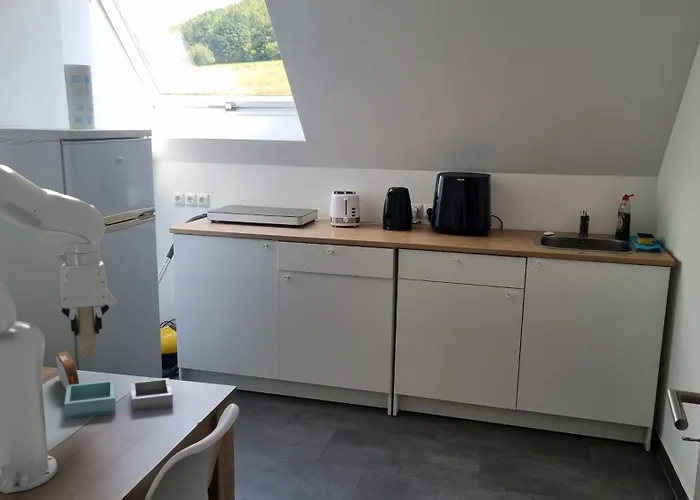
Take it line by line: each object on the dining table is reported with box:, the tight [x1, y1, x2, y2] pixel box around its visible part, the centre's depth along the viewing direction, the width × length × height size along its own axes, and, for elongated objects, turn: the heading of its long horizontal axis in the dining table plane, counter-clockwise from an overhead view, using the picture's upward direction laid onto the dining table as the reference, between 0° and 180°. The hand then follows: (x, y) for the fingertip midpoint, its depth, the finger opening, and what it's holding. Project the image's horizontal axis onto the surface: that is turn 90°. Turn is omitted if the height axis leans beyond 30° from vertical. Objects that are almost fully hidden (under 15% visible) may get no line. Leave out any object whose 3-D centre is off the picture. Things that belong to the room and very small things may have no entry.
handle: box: [77, 307, 97, 358], centre depth 153 cm, size 5×6×15 cm
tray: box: [64, 379, 117, 421], centre depth 157 cm, size 11×11×4 cm
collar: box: [130, 377, 174, 414], centre depth 161 cm, size 10×9×4 cm
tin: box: [55, 350, 80, 391], centre depth 167 cm, size 15×3×8 cm, turn 35°
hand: (87, 332), depth 153 cm, fingers closed on handle, 4 cm apart
